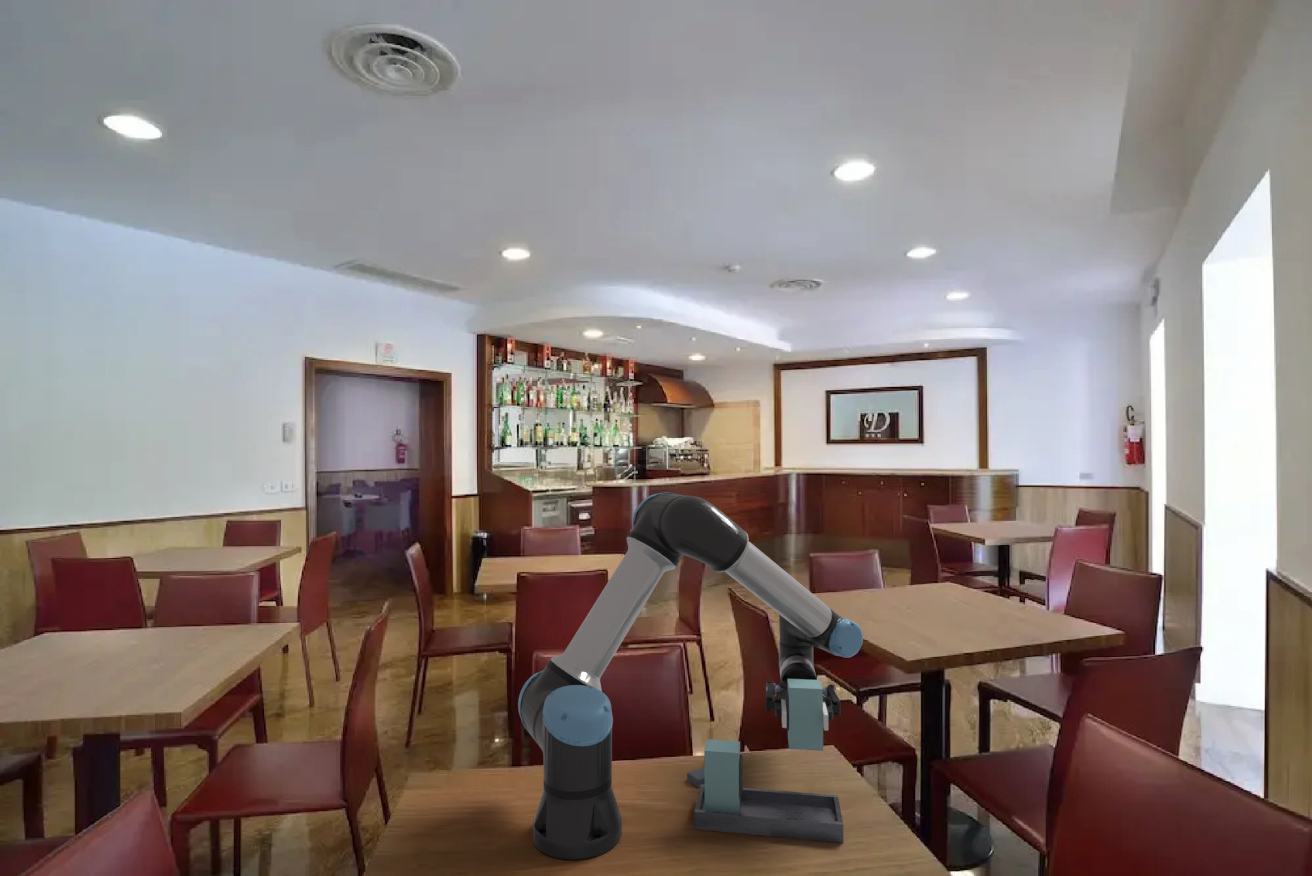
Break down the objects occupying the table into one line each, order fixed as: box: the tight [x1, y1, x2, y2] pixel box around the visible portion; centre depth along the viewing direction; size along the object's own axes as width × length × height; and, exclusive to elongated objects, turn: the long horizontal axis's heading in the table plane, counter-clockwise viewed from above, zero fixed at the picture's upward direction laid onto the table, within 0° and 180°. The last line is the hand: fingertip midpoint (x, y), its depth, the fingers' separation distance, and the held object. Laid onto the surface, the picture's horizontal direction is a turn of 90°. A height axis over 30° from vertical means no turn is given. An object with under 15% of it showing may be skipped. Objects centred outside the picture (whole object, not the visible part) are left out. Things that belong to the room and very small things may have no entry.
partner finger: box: [703, 738, 744, 813], centre depth 123 cm, size 6×5×11 cm
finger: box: [785, 679, 824, 752], centre depth 126 cm, size 6×5×11 cm
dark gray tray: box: [694, 784, 844, 844], centre depth 121 cm, size 25×10×3 cm, turn 80°
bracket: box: [686, 766, 705, 788], centre depth 138 cm, size 4×10×2 cm, turn 122°
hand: (805, 721), depth 121 cm, fingers closed on finger, 6 cm apart
